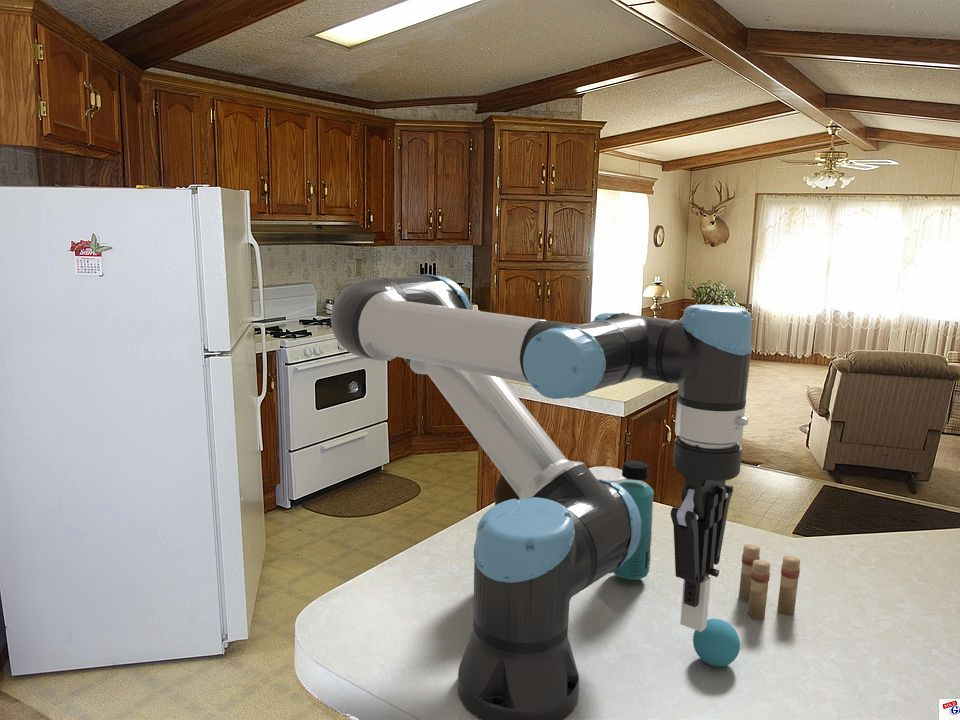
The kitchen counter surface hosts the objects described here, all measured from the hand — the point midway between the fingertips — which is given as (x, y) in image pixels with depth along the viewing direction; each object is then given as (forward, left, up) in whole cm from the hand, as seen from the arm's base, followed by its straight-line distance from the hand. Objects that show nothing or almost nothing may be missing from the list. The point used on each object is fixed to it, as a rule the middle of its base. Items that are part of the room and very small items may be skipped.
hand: (693, 625), depth 90 cm
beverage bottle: (+10, +29, -10) cm, 32 cm away
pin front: (+22, +13, -10) cm, 27 cm away
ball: (+8, +5, -7) cm, 12 cm away
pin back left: (+24, +18, -10) cm, 32 cm away
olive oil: (-7, +33, -10) cm, 35 cm away
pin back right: (+27, +13, -10) cm, 32 cm away
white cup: (+18, +51, -10) cm, 55 cm away
